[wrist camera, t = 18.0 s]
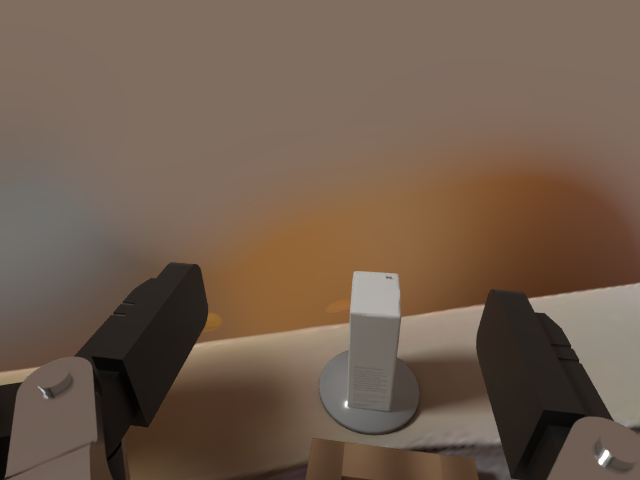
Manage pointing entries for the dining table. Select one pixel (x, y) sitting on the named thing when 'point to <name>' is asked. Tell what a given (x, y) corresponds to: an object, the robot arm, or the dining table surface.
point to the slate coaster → (362, 419)
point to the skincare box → (373, 340)
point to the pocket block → (383, 463)
